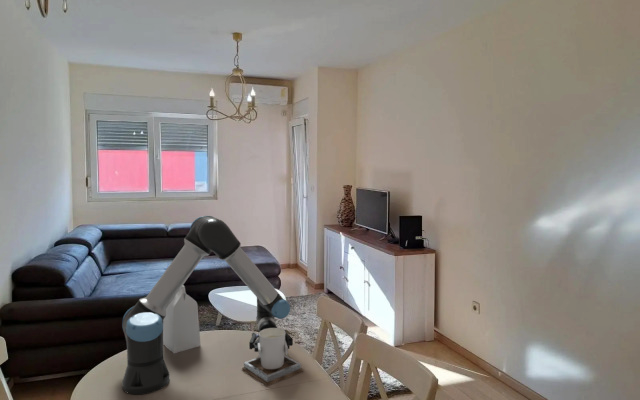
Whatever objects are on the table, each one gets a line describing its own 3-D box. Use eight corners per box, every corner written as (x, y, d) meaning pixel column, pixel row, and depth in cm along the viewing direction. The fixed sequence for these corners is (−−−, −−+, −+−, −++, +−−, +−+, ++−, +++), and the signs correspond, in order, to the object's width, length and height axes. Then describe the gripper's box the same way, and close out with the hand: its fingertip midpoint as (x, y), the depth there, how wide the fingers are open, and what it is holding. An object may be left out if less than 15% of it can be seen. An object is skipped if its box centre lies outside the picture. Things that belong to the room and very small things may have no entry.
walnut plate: (267, 386, 145) (267, 383, 145) (242, 370, 157) (242, 367, 157) (302, 371, 156) (302, 368, 156) (277, 357, 168) (276, 354, 167)
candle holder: (284, 370, 151) (284, 338, 150) (257, 370, 151) (256, 338, 150) (286, 358, 161) (286, 327, 160) (261, 358, 161) (261, 327, 160)
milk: (200, 345, 179) (199, 285, 177) (174, 353, 171) (172, 290, 169) (188, 337, 188) (187, 279, 186) (162, 344, 180) (161, 284, 178)
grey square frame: (267, 382, 146) (267, 377, 146) (244, 367, 157) (243, 362, 157) (300, 368, 156) (300, 363, 156) (276, 355, 167) (276, 350, 167)
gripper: (294, 335, 176) (303, 359, 154) (241, 340, 171) (242, 365, 149) (293, 318, 175) (303, 339, 153) (240, 322, 171) (242, 344, 149)
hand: (273, 352), depth 151 cm, fingers closed on candle holder, 9 cm apart
